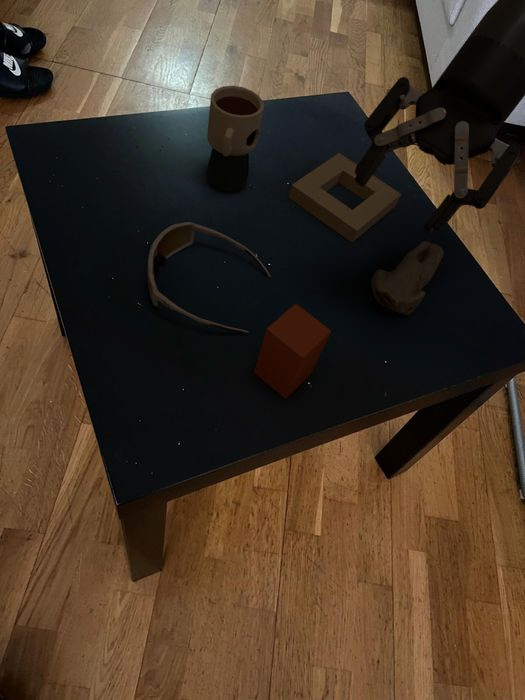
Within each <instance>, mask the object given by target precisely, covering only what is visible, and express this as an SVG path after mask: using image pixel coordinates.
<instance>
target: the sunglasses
mask: <svg viewBox="0 0 525 700" xmlns="http://www.w3.org/2000/svg"><path fill="white" fill-rule="evenodd" d="M196 232H198V233H201V234H204V235H205V236H212V237H213V236H214V237H217V238H220V239H223V240H225V241H226V242H229V243H230V244H231V245H233V246H234V247H236V248H237V249H239V250H241V251H243V252H244V253H245V254H247V255H248V256H249V257H250V258H251V259H252V260H253V261H255V262H256V264H257V266H259V268H260V269H261V270H262V271H263V273H264V275H265V276H266V277H268V278H272V275H271V274H270V272H269V270H268V269H267V268H266V266H265V265H264V264H263V262H261V260H260V259H259V257H258V256H257V255H255V254H254V252H253V251H252V250H250V249H249V248H248V247H247V246H245V245H243V244H241V243H240V242H238V241H237V240H235V239H232V238H231V237H229V236H227V235H225V234H223V233H221V232H219V231H217V230H214V229H212V228H210V227H206V226H203V225H201V224H198V223H194V222H192V221H185V222H179V223H174V224H172V225H170V226H168V227H166V228H165V229H164V230H163V231H161V232H160V233H159V234H158V236H156V238H154V241H153V242H152V244H151V247H150V249H149V253H148V259H147V268H146V278H147V287H148V291H149V292H148V293H149V296H150V301H151V302H152V304H153V306H154V307H157V308H158V307H159V303H158V302H160V303H161V304H162V305H164V307H166V308H167V309H170V310H173V311H176V312H177V313H179V314H182V315H184V316H186V317H188V318H190V319H192V320H194V321H195V322H197V323H199V324H203V325H206V326H209V327H212V328H217V329H220V330H223V331H229V332H232V333H237V334H247V333H249V330H247V329H241V328H237V327H233V326H228V325H224V324H221V323H217V322H214V321H212V320H207V319H205V318H201V317H199V316H196V315H194V314H192V313H190V312H188V311H186V310H184V309H183V308H181V307H180V306H178V305H176V303H174V302H173V301H171V299H169V298H167V297H166V296H165V295H164V294H162V293H161V292H160V291H159V290H158V286H157V284H156V282H155V275H158V274H159V273H160V268H159V267H160V266H159V263H158V260H159V261H160V262H166V261H167V260H168V259H169V258H170V257H171V256H173V255H175V254H176V253H178V252H180V251H181V250H184V249H185V248H187V247H190V246H192V245H193V244H194V239H195V233H196Z"/></svg>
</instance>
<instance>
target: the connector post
mask: <svg viewBox="0 0 525 700" xmlns="http://www.w3.org/2000/svg"><path fill="white" fill-rule="evenodd" d="M331 333H332V330H331V329H330V328H329V327H327V326H326V325H324V324H323V323H322V322H320V321H319V320H318V319H316V318H315V317H314V316H312V314H310V313H309V312H307V311H306V310H305V309H304V308H303V307H301V306H300V305H299V304H298V303H294V304H293V305H292V306H291V307H290V308H288V310H286V311H285V312H284V313H283V314H282V315H281V316H279V317H278V318H277V319H276V320H275V321H273V322H272V324H270V325H269V326H268V327H267V328H266V330H265V333H264V336H263V339H262V340H263V341H262V344H261V347H260V350H259V353H258V356H257V360H256V363H255V367H254V370H253V373H254V374H255V375H256V376H258V377H259V379H261V380H262V381H264V383H266V384H267V386H269V387H270V388H271V389H273V390H274V391H275V392H276V393H278V394H279V395H280V396H281V397H282V398H283V399H286V400H287V399H288V398H289V396H291V395H292V394H293V392H295V391H296V390H297V388H299V387H300V386H301V385H302V384H303V383H304V382H305V381H306V380H307V379H308V378H309V377H310V376H311V375H312V373H313V372H314V369H315V367H316V366H317V363H318V361H319V359H320V357H321V354H322V352H323V350H324V349H325V346H326V343H327V342H328V339H329V337H330V335H331Z"/></svg>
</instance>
